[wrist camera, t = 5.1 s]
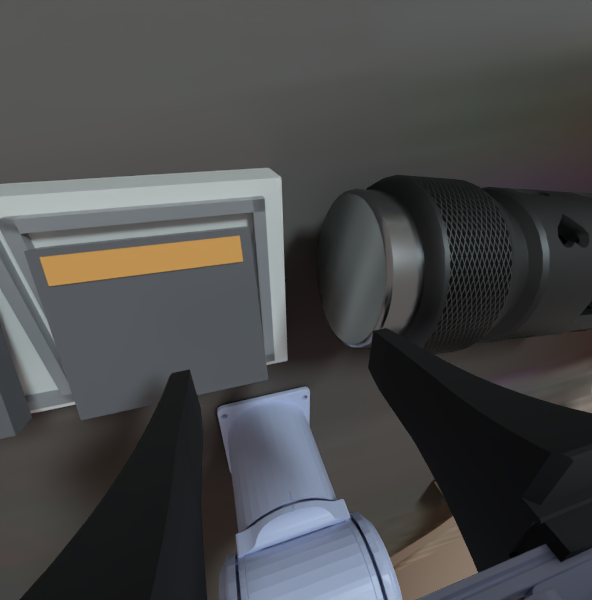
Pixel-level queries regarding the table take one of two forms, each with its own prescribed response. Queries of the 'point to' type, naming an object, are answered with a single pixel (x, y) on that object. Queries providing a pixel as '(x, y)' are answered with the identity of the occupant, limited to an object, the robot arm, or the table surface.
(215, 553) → the table surface
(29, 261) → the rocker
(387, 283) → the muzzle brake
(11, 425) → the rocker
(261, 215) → the switch panel
